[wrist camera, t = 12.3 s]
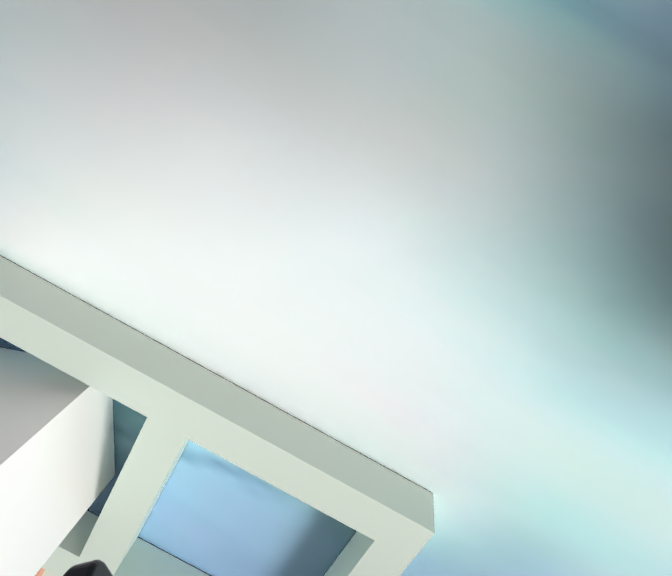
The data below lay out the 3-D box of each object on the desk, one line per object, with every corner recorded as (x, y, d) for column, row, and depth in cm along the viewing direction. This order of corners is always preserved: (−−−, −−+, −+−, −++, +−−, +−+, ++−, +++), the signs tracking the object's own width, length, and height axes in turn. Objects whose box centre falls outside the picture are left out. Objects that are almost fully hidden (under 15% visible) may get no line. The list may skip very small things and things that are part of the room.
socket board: (432, 493, 21) (434, 532, 19) (267, 705, 26) (255, 752, 24) (-34, 237, 20) (-80, 251, 18) (-111, 507, 25) (-154, 540, 23)
